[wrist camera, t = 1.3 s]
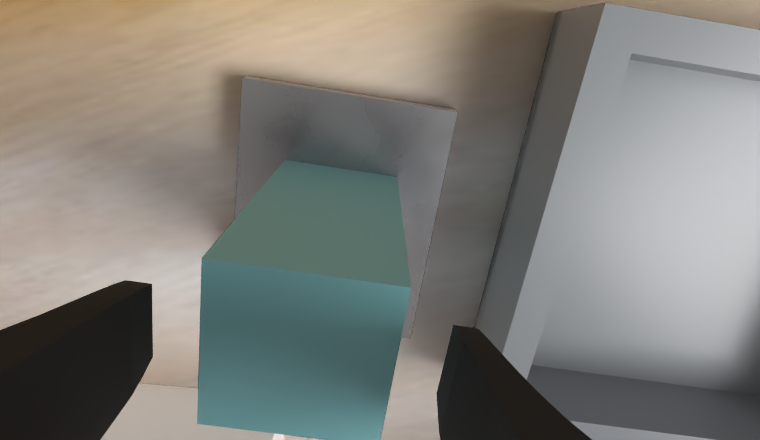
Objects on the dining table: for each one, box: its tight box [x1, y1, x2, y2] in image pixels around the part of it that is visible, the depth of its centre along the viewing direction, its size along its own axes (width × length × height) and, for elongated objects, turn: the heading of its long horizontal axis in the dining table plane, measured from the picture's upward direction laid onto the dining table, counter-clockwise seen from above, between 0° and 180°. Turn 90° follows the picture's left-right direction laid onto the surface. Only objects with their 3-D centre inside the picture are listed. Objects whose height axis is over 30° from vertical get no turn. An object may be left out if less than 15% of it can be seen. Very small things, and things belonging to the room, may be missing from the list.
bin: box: [474, 3, 760, 440], centre depth 19 cm, size 16×16×4 cm
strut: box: [197, 160, 411, 440], centre depth 15 cm, size 4×4×9 cm
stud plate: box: [235, 76, 458, 338], centre depth 19 cm, size 10×8×3 cm
